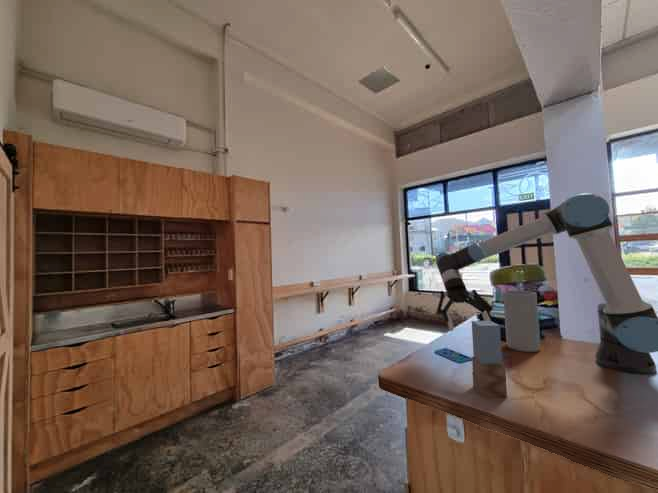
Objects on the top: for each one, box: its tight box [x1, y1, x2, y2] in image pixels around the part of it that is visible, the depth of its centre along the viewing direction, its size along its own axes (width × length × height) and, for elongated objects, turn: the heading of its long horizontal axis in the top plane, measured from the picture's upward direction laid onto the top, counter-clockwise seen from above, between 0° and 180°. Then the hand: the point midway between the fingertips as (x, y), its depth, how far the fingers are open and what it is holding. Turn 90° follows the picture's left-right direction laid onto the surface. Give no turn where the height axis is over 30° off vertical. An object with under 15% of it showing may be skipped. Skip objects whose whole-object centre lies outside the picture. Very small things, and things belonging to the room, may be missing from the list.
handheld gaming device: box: [434, 347, 472, 364], centre depth 118 cm, size 8×1×15 cm
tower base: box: [472, 371, 508, 399], centre depth 87 cm, size 7×7×5 cm
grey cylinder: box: [502, 290, 542, 353], centre depth 123 cm, size 12×12×25 cm
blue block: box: [471, 320, 503, 364], centre depth 87 cm, size 6×6×12 cm
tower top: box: [471, 356, 507, 383], centre depth 87 cm, size 7×7×5 cm
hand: (471, 328), depth 98 cm, fingers open, 13 cm apart
